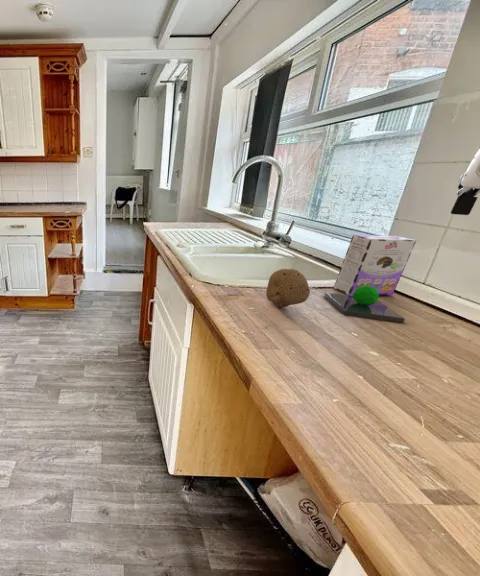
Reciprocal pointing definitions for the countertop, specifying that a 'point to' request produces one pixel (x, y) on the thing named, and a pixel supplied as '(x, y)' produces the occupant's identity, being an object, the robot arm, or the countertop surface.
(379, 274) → the candy box
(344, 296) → the board
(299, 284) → the natural sponge
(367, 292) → the polyhedron
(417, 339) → the countertop surface
